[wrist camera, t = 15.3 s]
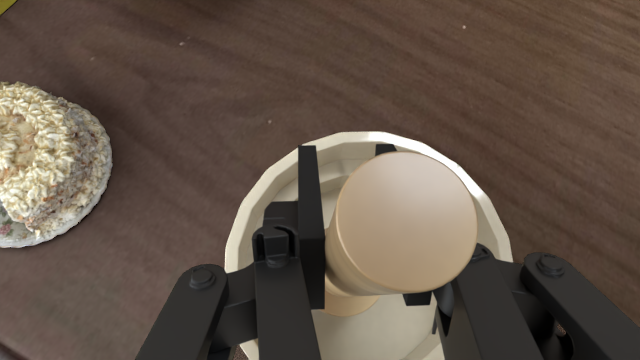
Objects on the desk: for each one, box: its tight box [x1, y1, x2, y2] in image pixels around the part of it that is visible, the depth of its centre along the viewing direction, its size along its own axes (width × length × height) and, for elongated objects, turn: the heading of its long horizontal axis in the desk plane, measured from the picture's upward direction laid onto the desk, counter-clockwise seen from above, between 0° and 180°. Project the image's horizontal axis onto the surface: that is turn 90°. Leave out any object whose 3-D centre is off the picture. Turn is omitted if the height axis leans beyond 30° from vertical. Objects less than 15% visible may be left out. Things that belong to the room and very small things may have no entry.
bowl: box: [225, 132, 513, 360], centre depth 21 cm, size 13×13×6 cm
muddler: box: [319, 151, 479, 317], centre depth 14 cm, size 4×4×14 cm
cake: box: [0, 81, 113, 248], centre depth 22 cm, size 10×10×5 cm
